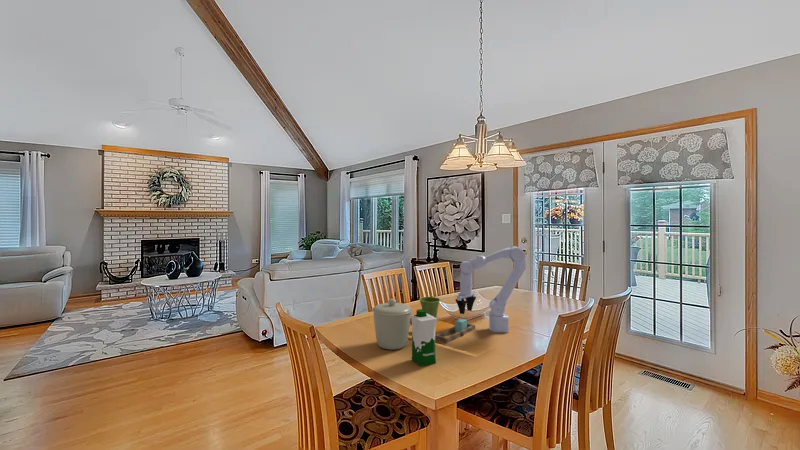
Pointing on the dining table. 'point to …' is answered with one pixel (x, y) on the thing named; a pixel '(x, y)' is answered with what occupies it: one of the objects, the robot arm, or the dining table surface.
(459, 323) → the teal block
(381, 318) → the canister
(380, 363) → the dining table surface
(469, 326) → the wooden tray
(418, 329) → the milk carton
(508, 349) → the dining table surface
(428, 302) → the plant pot
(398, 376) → the dining table surface
